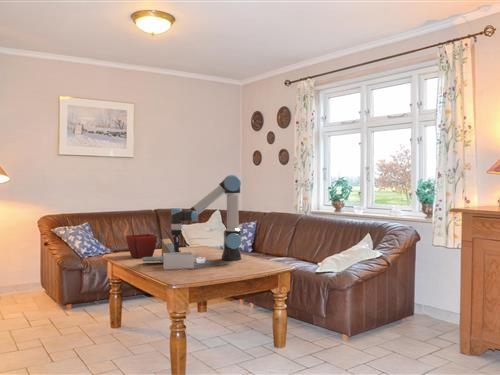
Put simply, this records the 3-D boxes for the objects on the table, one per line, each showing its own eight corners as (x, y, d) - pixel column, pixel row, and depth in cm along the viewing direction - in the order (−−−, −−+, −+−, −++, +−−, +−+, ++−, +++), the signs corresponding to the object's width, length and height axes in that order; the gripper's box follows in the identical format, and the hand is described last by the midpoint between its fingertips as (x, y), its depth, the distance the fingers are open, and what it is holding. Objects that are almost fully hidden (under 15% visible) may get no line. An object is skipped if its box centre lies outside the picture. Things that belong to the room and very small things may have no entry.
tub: (191, 265, 316) (191, 251, 316) (193, 269, 305) (193, 254, 305) (163, 267, 311) (163, 252, 311) (164, 270, 300) (164, 255, 300)
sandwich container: (175, 260, 337) (175, 241, 337) (161, 258, 346) (161, 239, 346) (183, 259, 344) (183, 239, 344) (169, 257, 353) (169, 238, 353)
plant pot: (125, 256, 356) (125, 235, 355) (148, 254, 367) (148, 233, 367) (134, 259, 340) (134, 237, 340) (158, 257, 351) (157, 236, 351)
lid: (179, 257, 332) (179, 249, 332) (181, 260, 320) (181, 251, 320) (143, 258, 326) (143, 250, 326) (143, 261, 314) (143, 253, 314)
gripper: (170, 228, 333) (170, 259, 333) (172, 230, 316) (172, 263, 316) (180, 228, 334) (180, 259, 335) (182, 230, 318) (182, 263, 318)
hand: (176, 261), depth 326 cm, fingers closed on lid, 4 cm apart
